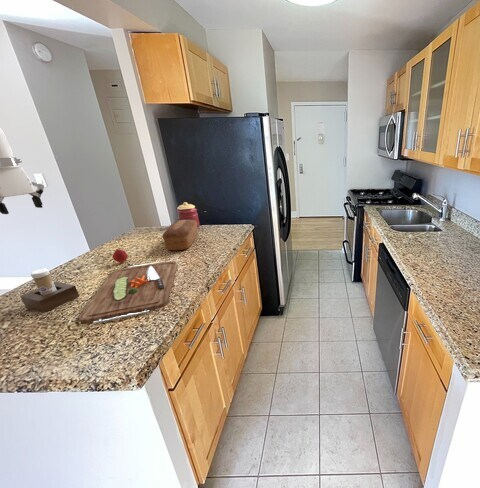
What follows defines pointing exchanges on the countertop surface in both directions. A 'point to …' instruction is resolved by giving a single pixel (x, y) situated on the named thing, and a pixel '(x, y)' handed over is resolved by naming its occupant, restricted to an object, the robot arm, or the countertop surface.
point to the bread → (180, 234)
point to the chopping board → (131, 292)
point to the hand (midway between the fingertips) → (23, 210)
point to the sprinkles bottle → (43, 281)
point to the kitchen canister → (188, 212)
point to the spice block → (50, 297)
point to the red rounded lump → (120, 255)
